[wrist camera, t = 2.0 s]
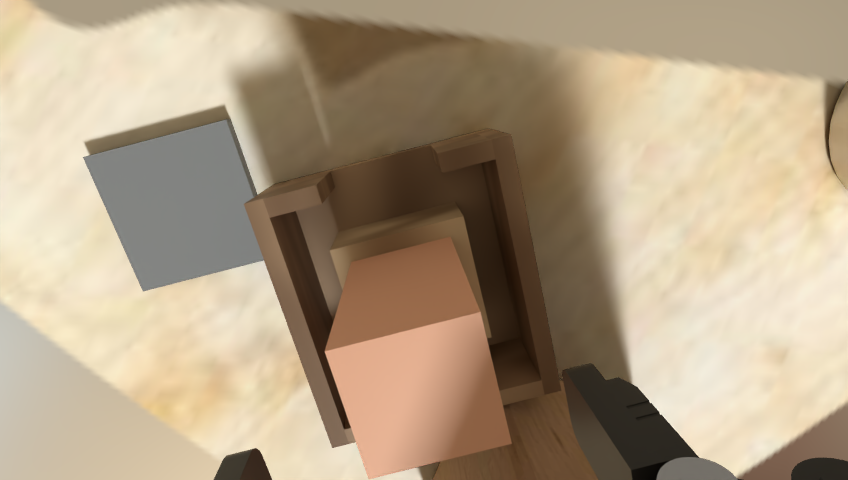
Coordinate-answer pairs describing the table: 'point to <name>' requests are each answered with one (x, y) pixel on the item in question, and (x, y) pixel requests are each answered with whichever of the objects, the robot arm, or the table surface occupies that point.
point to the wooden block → (528, 447)
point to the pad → (179, 203)
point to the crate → (401, 228)
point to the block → (414, 361)
